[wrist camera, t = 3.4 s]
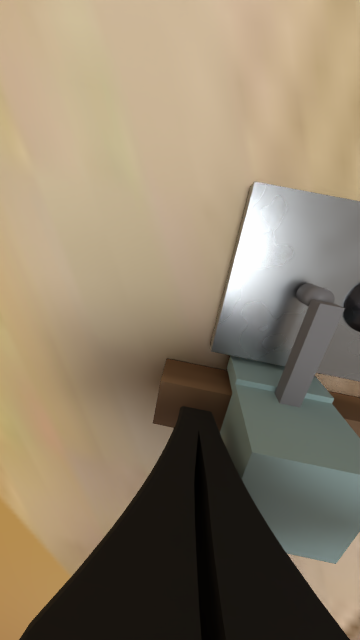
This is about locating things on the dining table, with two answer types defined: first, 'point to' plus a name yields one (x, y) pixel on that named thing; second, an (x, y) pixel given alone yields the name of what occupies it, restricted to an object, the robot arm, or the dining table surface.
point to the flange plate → (291, 277)
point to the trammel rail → (217, 395)
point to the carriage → (297, 441)
